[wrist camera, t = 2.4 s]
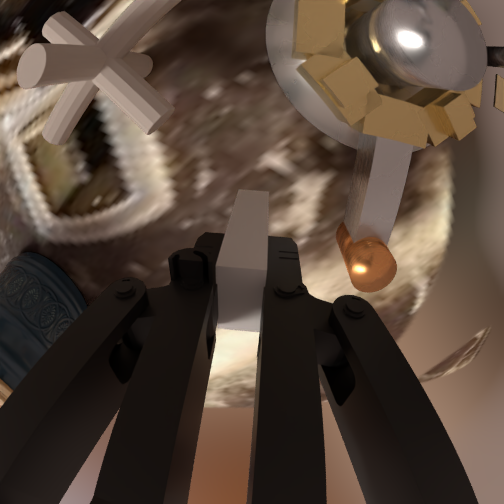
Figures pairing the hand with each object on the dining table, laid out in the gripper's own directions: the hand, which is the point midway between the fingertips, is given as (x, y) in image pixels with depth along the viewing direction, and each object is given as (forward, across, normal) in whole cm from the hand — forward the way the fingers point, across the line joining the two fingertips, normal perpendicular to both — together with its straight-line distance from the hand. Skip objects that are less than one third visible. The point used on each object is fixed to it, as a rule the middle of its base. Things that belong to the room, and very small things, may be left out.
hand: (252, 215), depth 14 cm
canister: (+5, -24, -14) cm, 28 cm away
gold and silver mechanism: (+5, +11, +10) cm, 15 cm away
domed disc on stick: (+3, +7, +6) cm, 10 cm away
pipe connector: (+5, -8, +8) cm, 13 cm away
